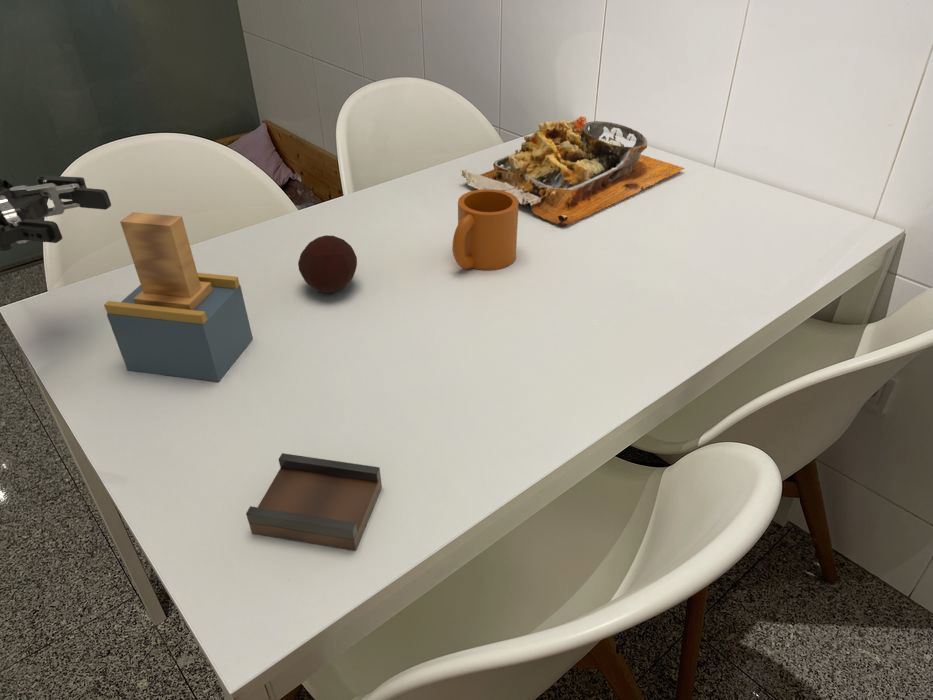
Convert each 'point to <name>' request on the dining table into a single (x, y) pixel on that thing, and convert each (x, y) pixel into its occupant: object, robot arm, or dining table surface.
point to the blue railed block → (184, 332)
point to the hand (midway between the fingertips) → (83, 215)
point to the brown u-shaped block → (317, 502)
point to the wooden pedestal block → (164, 261)
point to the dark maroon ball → (328, 264)
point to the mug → (486, 230)
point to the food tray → (573, 170)
